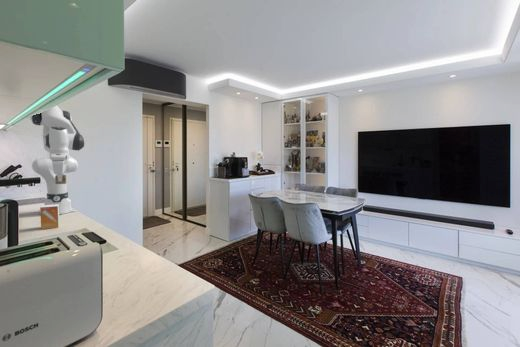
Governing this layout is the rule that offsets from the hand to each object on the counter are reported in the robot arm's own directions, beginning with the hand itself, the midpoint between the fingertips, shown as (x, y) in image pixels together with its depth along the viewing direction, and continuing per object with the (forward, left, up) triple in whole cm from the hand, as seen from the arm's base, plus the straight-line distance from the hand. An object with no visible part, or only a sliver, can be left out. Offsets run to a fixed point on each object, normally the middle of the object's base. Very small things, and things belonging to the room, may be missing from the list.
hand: (60, 180), depth 148 cm
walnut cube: (0, 0, -2) cm, 2 cm away
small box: (-8, -6, -29) cm, 30 cm away
